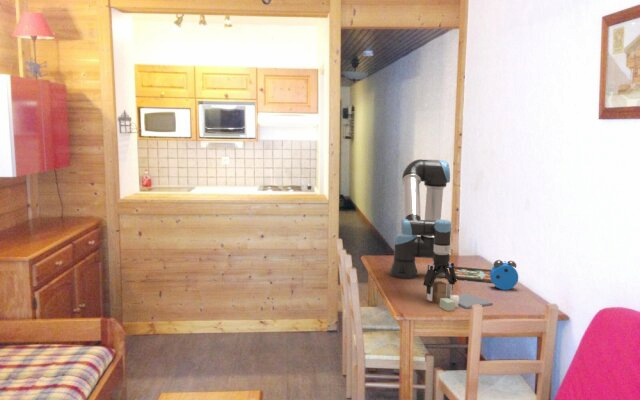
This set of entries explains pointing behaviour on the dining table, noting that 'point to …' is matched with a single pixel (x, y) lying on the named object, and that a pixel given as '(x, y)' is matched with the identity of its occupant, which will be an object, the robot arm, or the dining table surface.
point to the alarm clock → (504, 275)
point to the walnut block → (438, 291)
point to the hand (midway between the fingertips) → (439, 298)
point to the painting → (470, 274)
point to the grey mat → (471, 300)
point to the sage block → (447, 304)
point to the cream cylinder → (455, 300)
